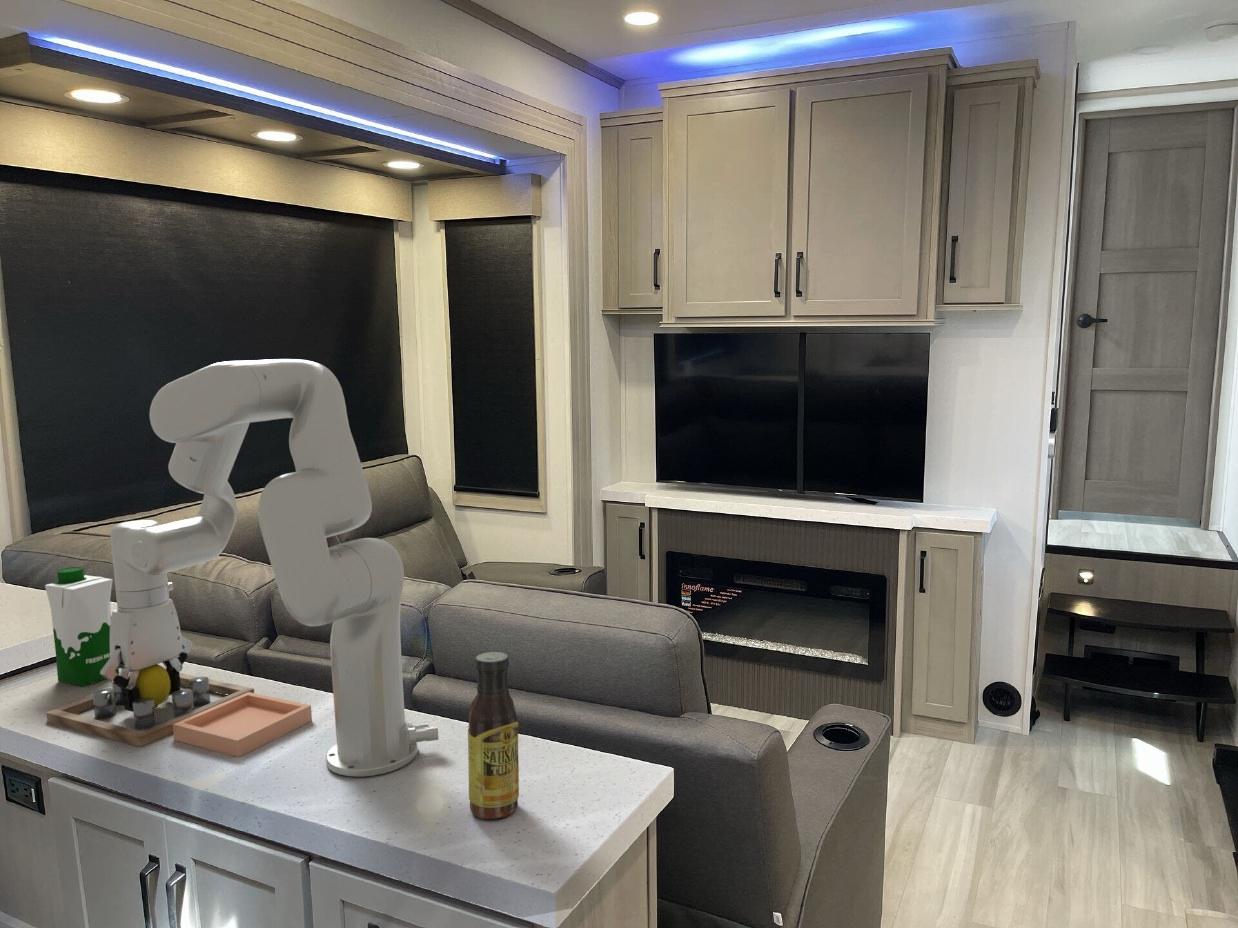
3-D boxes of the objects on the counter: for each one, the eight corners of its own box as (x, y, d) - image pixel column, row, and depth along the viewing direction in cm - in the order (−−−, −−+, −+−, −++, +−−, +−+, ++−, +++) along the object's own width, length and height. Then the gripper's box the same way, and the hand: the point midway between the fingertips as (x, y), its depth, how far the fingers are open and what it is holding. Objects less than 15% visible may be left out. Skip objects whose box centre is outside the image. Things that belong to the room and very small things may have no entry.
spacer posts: (224, 703, 150) (222, 680, 150) (153, 733, 139) (151, 708, 138) (153, 687, 158) (151, 665, 158) (81, 714, 147) (78, 691, 146)
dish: (312, 720, 142) (310, 705, 142) (238, 756, 130) (237, 740, 129) (249, 706, 148) (248, 691, 148) (174, 739, 136) (172, 724, 136)
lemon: (179, 702, 151) (175, 656, 150) (159, 716, 145) (154, 668, 144) (148, 702, 151) (143, 656, 150) (127, 715, 146) (122, 668, 145)
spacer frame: (254, 696, 152) (253, 688, 152) (140, 746, 134) (139, 737, 134) (164, 677, 163) (163, 669, 163) (47, 721, 144) (46, 712, 144)
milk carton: (95, 666, 170) (85, 563, 167) (128, 673, 166) (117, 567, 163) (49, 682, 162) (37, 574, 159) (82, 689, 158) (70, 578, 155)
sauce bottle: (487, 828, 109) (480, 670, 106) (460, 809, 113) (452, 657, 111) (531, 809, 113) (525, 656, 110) (503, 791, 118) (497, 644, 115)
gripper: (175, 581, 155) (184, 681, 158) (76, 608, 140) (87, 718, 142) (204, 586, 152) (213, 687, 154) (106, 614, 137) (117, 726, 139)
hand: (153, 701), depth 148 cm, fingers open, 6 cm apart
